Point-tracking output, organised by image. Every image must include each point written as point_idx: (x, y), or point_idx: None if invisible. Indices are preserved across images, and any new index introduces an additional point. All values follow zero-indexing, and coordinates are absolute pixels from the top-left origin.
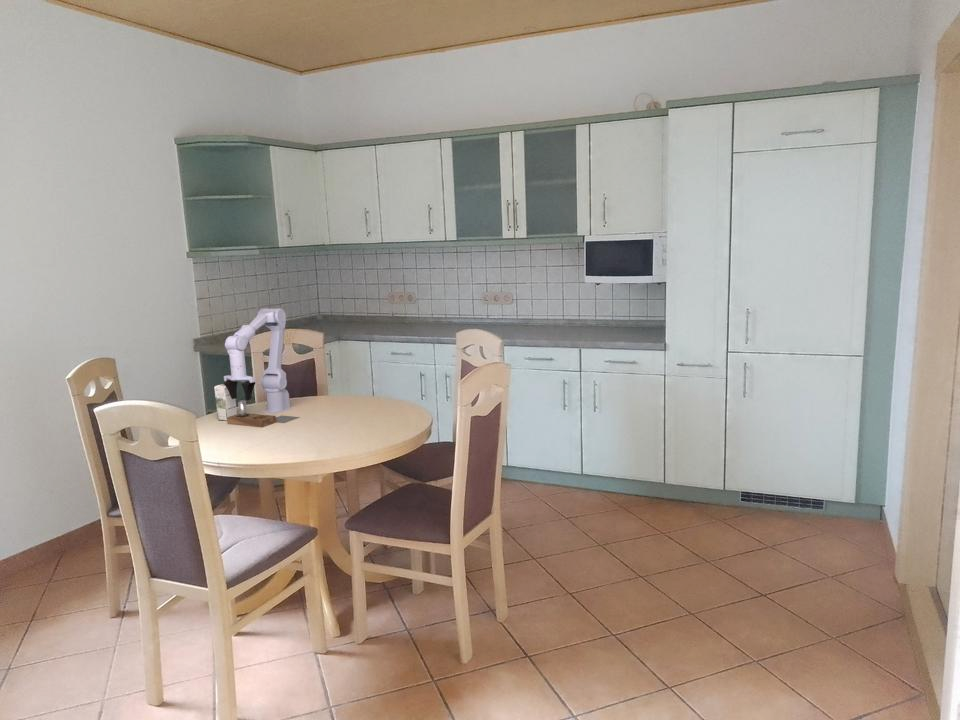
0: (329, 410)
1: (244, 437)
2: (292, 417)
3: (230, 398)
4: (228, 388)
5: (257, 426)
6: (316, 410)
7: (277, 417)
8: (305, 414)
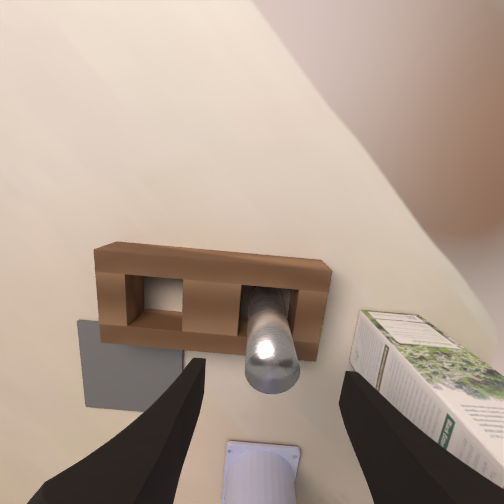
0: None
1: (70, 73)
2: (114, 398)
3: (417, 424)
4: (436, 459)
5: (141, 245)
6: None
7: None
8: None
